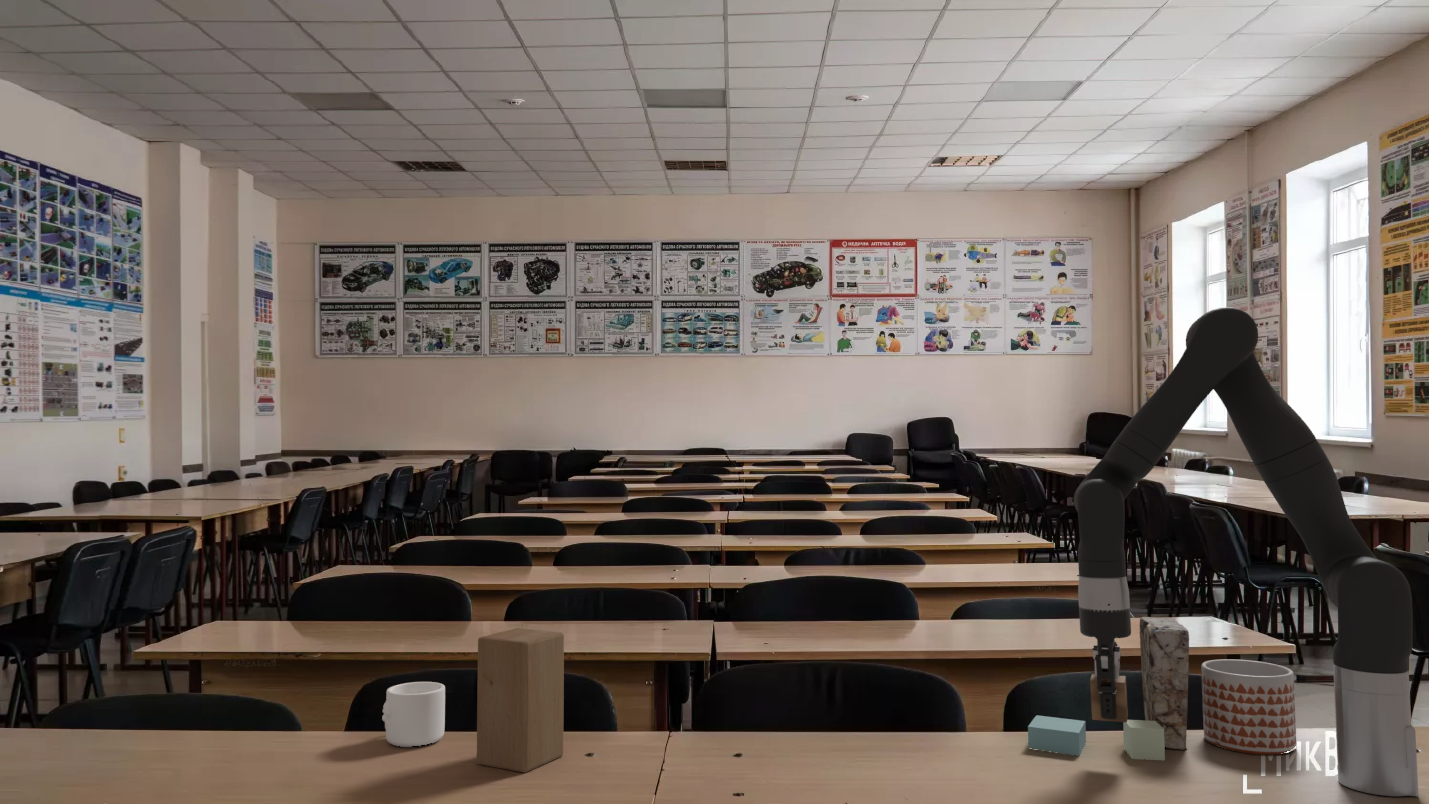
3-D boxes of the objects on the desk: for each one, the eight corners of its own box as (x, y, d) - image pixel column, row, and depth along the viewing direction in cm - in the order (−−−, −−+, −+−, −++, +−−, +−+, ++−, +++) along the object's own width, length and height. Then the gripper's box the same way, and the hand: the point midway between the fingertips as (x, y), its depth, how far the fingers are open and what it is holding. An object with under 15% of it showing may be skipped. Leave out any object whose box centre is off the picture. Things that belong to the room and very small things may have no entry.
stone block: (1199, 751, 158) (1194, 628, 160) (1153, 749, 160) (1150, 627, 161) (1174, 729, 171) (1170, 615, 173) (1132, 727, 173) (1129, 614, 174)
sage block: (1156, 751, 159) (1155, 720, 159) (1165, 760, 154) (1164, 729, 154) (1124, 750, 160) (1123, 719, 160) (1131, 759, 155) (1130, 727, 155)
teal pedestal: (1086, 745, 163) (1085, 721, 164) (1079, 757, 156) (1078, 732, 157) (1036, 738, 167) (1036, 715, 167) (1028, 751, 160) (1028, 726, 160)
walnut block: (1127, 714, 153) (1125, 676, 154) (1126, 722, 149) (1124, 682, 149) (1094, 711, 155) (1092, 674, 156) (1092, 719, 151) (1089, 680, 151)
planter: (1189, 732, 170) (1187, 658, 171) (1269, 732, 169) (1266, 659, 170) (1227, 755, 156) (1225, 676, 157) (1314, 756, 156) (1311, 676, 156)
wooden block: (475, 764, 153) (476, 637, 154) (516, 748, 162) (517, 627, 163) (525, 773, 148) (526, 642, 150) (564, 756, 157) (565, 632, 159)
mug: (382, 733, 171) (383, 681, 172) (443, 728, 174) (443, 677, 175) (380, 752, 160) (381, 696, 160) (445, 746, 163) (446, 692, 163)
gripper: (1128, 612, 145) (1134, 727, 144) (1131, 599, 158) (1137, 705, 157) (1075, 610, 148) (1081, 723, 147) (1082, 598, 161) (1087, 701, 160)
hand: (1109, 713), depth 152 cm, fingers closed on walnut block, 5 cm apart
